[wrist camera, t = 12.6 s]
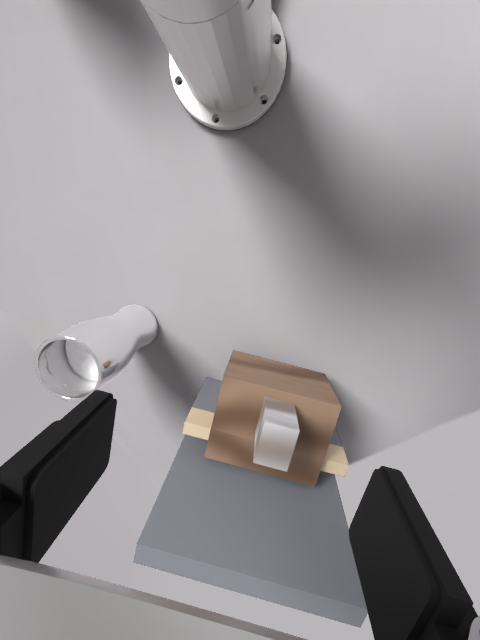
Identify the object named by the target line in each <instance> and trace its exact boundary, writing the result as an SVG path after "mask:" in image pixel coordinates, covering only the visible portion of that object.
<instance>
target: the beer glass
mask: <svg viewBox="0 0 480 640" xmlns="http://www.w3.org/2000/svg"><path fill="white" fill-rule="evenodd" d="M157 330H158V326H157V321H156V318H155V316H154V315H153V313H152V312H151V311H150V310H149V309H147V308H146V307H144V306H142V305H138V304H130V305H126V306H124V307H123V308H121V309H120V310H119V311H118V312H117V313H116V314H115V315H111V316H103V317H97V318H93V319H88V320H85V321H83V322H80V323H77V324H75V325H73V326H71V327H69V328H67V329H65V330H63V331H62V332H60V333H58V334H57V335H55V336H53V337H52V338H49V339H47V340H46V341H44V342H43V343H42V344H41V345H40V346H39V348H38V349H37V352H36V354H35V360H34V365H35V371H36V374H37V377H38V379H39V380H40V382H41V384H42V385H43V386H44V387H45V388H46V389H47V390H48V391H49V392H50V393H51V394H53V395H54V396H56V397H58V398H60V399H63V400H66V401H73V402H74V401H75V402H77V401H83V400H84V399H85V398H87V397H88V396H89V395H90V394H91V393H92V392H94V391H95V390H101V389H102V388H103V387H105V386H106V385H108V384H109V383H110V382H111V381H113V380H114V379H115V378H116V377H117V376H118V375H119V374H120V373H121V372H122V371H123V370H124V369H125V368H126V367H127V365H128V364H129V363H130V361H131V360H132V358H133V357H134V355H135V353H136V352H137V350H138V349H139V348H141V347H143V346H146V345H148V344H149V343H151V342H152V341H153V339H154V338H155V336H156V334H157Z"/></svg>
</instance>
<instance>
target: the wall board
mask: <svg viewBox="0 0 480 640" xmlns="http://www.w3.org/2000/svg"><path fill="white" fill-rule="evenodd" d="M221 385H222V381H219V380H215V379H211V378H208V377H206V379H205V381H204V383H203V385H202V387H201V389H200V391H199V393H198V395H197V397H196V399H195V402H194V404H193V406H192V408H191V410H190V412H189V414H188V416H187V418H186V420H185V423H184V428H183V434H185V437H184V439H183V441H182V443H181V446H180V448H179V450H178V452H177V455H176V457H175V459H174V461H173V464H172V466H171V468H170V470H169V473H168V475H167V477H166V479H165V482H164V484H163V486H162V488H161V491H160V493H159V495H158V498H157V500H156V502H155V504H154V506H153V509H152V511H151V513H150V515H149V518H148V520H147V522H146V525H145V527H144V529H143V531H142V534H141V536H140V538H139V540H138V542H137V546H136V553H135V557H134V563H138V564H141V565H144V566H148V567H152V568H155V569H158V570H162V571H166V572H169V573H172V574H176V575H179V576H183V577H186V578H190V579H193V580H197V581H200V582H203V583H207V584H211V585H214V586H217V587H221V588H224V589H228V590H232V591H235V592H238V593H242V594H245V595H249V596H252V597H256V598H259V599H263V600H266V601H270V602H273V603H276V604H280V605H283V606H287V607H291V608H294V609H298V610H301V611H304V612H308V613H311V614H315V615H318V616H322V617H325V618H329V619H332V620H336V621H339V622H342V623H346V624H350V625H353V626H356V627H361V625H362V623H363V621H364V619H365V618H366V616H367V614H368V611H367V607H366V603H365V599H364V595H363V591H362V587H361V583H360V579H359V575H358V571H357V567H356V563H355V559H354V555H353V552H352V548H351V544H350V540H349V529H348V525H347V522H346V517H345V514H344V510H343V506H342V502H341V498H340V494H339V490H338V487H337V483H336V479H335V475H339V476H342V477H345V475H346V473H347V470H348V468H349V463H348V460H347V457H346V454H345V451H344V448H343V445H342V442H341V439H340V436H339V433H338V430H337V427H336V426H335V429H334V432H333V435H332V438H331V441H330V444H329V447H328V450H327V453H326V456H325V459H324V462H323V465H322V468H321V471H320V474H319V477H318V480H317V483H316V485H315V487H312V486H309V485H305V484H301V483H298V482H294V481H290V480H287V479H283V478H279V477H276V476H272V475H268V474H265V473H261V472H257V471H253V470H250V469H246V468H242V467H239V466H235V465H231V464H228V463H224V462H220V461H217V460H213V459H209V458H206V457H204V455H205V451H206V446H207V442H208V438H209V434H210V430H211V426H212V422H213V418H214V414H215V409H216V405H217V401H218V397H219V393H220V389H221ZM334 474H335V475H334Z"/></svg>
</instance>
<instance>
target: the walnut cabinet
mask: <svg viewBox="0 0 480 640" xmlns="http://www.w3.org/2000/svg"><path fill="white" fill-rule="evenodd" d="M341 408H342V406H341V404H340V402H339V400H338V398H337V396H336V394H335V392H334V390H333V388H332V386H331V384H330V383H329V381H328V379H327V377H326V375H325V374H324V373H320V372H316V371H312V370H308V369H304V368H301V367H297V366H293V365H289V364H285V363H281V362H277V361H273V360H269V359H266V358H262V357H258V356H254V355H250V354H246V353H242V352H238V351H234V350H233V352H232V355H231V358H230V360H229V363H228V366H227V368H226V371H225V374H224V376H223V381H222V385H221V389H220V393H219V397H218V401H217V405H216V409H215V414H214V418H213V422H212V426H211V430H210V434H209V438H208V442H207V446H206V451H205V455H204V457H206V458H209V459H213V460H217V461H220V462H224V463H228V464H231V465H235V466H239V467H242V468H246V469H250V470H253V471H257V472H261V473H265V474H268V475H272V476H276V477H279V478H283V479H287V480H290V481H294V482H298V483H301V484H305V485H309V486H312V487H315V485H316V483H317V480H318V477H319V474H320V471H321V468H322V465H323V462H324V459H325V456H326V453H327V450H328V447H329V444H330V441H331V438H332V435H333V432H334V429H335V426H336V423H337V420H338V417H339V414H340V411H341Z"/></svg>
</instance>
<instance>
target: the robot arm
mask: <svg viewBox="0 0 480 640" xmlns="http://www.w3.org/2000/svg"><path fill="white" fill-rule="evenodd" d="M140 1H141V3H142V5H143V7H144V8H145V10H146V12H147V14H148V16H149V17H150V19H151V21H152V23H153V24H154V26H155V28H156V30H157V32H158V33H159V35H160V37H161V39H162V40H163V42H164V44H165V46H166V48H167V49H168V51H169V70H170V77H171V81H172V84H173V88H174V90H175V92H176V94H177V97H178V99H179V100H180V102H181V103H182V105H183V106H184V108H185V109H186V110H187V111H188V113H189V114H190V115H191V116H192V117H194V118H195V119H196V120H197V121H198V122H200V123H202V124H204V125H206V126H207V127H210V128H214V129H217V130H235V129H240V128H243V127H245V126H248V125H250V124H252V123H253V122H255V121H257V120H258V119H259V118H260V117H262V116H263V115H264V114H265V113H266V112H267V111H268V109H269V108H270V107H271V105H272V104H273V103H274V101H275V100H276V98H277V96H278V94H279V92H280V90H281V86H282V83H283V80H284V76H285V69H286V57H287V51H286V41H285V37H284V33H283V29H282V26H281V24H280V22H279V20H278V18H277V16H276V14H275V13H274V11H273V10H272V9H271V0H140ZM276 42H279V44H275V43H276ZM180 82H182V84H181V85H179V83H180ZM263 101H266V104H262V102H263ZM216 119H218V120H219V122H218V123H215V120H216ZM116 404H117V400H116V399H113V394H111V393H107V392H104V391H100V390H95V391H94V392H92V393H91V394H90V395H89V396H88V397H87V398H85V399H84V400H83V401H82V402H81V403H80V404H78V405H77V406H76V407H75V408H74V409H73V410H71V411H70V412H69V413H68V414H67V415H66V416H64V417H63V418H62V419H61V420H60V421H59V420H58V421H55V422H53V423H52V424H51V425H49V426H48V427H47V428H46V429H45V430H43V431H42V432H41V433H40V434H39V435H38V436H36V437H35V438H34V439H33V440H32V441H31V442H30V443H28V444H27V445H26V446H25V447H23V448H22V449H21V450H20V451H19V452H17V453H16V454H15V455H14V456H13V457H11V458H10V459H9V460H8V461H7V462H5V463H4V464H3V465H2V466H1V467H0V640H306V639H303V638H300V637H296V636H293V635H290V634H286V633H283V632H279V631H276V630H273V629H269V628H265V627H263V626H259V625H256V624H252V623H249V622H245V621H242V620H239V619H235V618H232V617H228V616H225V615H221V614H218V613H215V612H211V611H208V610H204V609H200V608H197V607H194V606H190V605H187V604H184V603H180V602H177V601H173V600H170V599H166V598H163V597H159V596H155V595H152V594H149V593H145V592H141V591H138V590H135V589H131V588H128V587H124V586H121V585H117V584H113V583H110V582H106V581H103V580H99V579H96V578H92V577H88V576H85V575H81V574H78V573H74V572H70V571H66V570H62V569H58V568H55V567H51V566H47V565H43V564H39V561H40V560H41V558H42V557H43V556H44V554H45V553H46V551H47V550H48V548H49V547H50V546H51V545H52V543H53V542H54V540H55V539H56V538H57V536H58V535H59V533H60V532H61V531H62V529H63V528H64V526H65V525H66V524H67V522H68V521H69V520H70V518H71V517H72V515H73V514H74V513H75V511H76V510H77V508H78V507H79V506H80V504H81V503H82V502H83V500H84V499H85V497H86V496H87V495H88V493H89V492H90V491H91V489H92V488H93V486H94V485H95V484H96V482H97V481H98V479H99V478H100V477H101V475H102V474H103V472H104V471H105V469H106V467H107V465H108V462H109V457H110V449H111V442H112V434H113V427H114V419H115V412H116ZM349 540H350V544H351V548H352V552H353V555H354V559H355V563H356V567H357V571H358V575H359V579H360V583H361V587H362V591H363V595H364V599H365V603H366V607H367V611H368V615H369V619H370V622H371V627H372V631H373V635H374V638H375V640H480V617H478V615H477V614H476V612H475V610H474V608H473V606H472V605H473V602H472V600H471V598H470V596H469V594H468V593H467V591H466V589H465V587H464V585H463V583H462V582H461V580H460V578H459V576H458V574H457V572H456V571H455V569H454V567H453V565H452V563H451V562H450V560H449V558H448V556H447V554H446V552H445V551H444V549H443V547H442V545H441V543H440V541H439V540H438V538H437V536H436V534H435V533H434V530H433V529H432V527H431V525H430V523H429V521H428V520H427V518H426V516H425V514H424V512H423V510H422V509H421V507H420V505H419V503H418V501H417V499H416V498H415V496H414V494H413V492H412V490H411V488H410V487H409V485H408V483H407V481H406V479H405V477H404V476H403V474H402V472H401V471H399V470H396V469H392V468H388V467H385V466H381V467H380V468H379V469H375V470H374V472H373V474H372V476H371V479H370V481H369V484H368V486H367V488H366V490H365V493H364V495H363V497H362V500H361V502H360V504H359V507H358V509H357V511H356V513H355V516H354V518H353V521H352V523H351V525H350V528H349Z"/></svg>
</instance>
